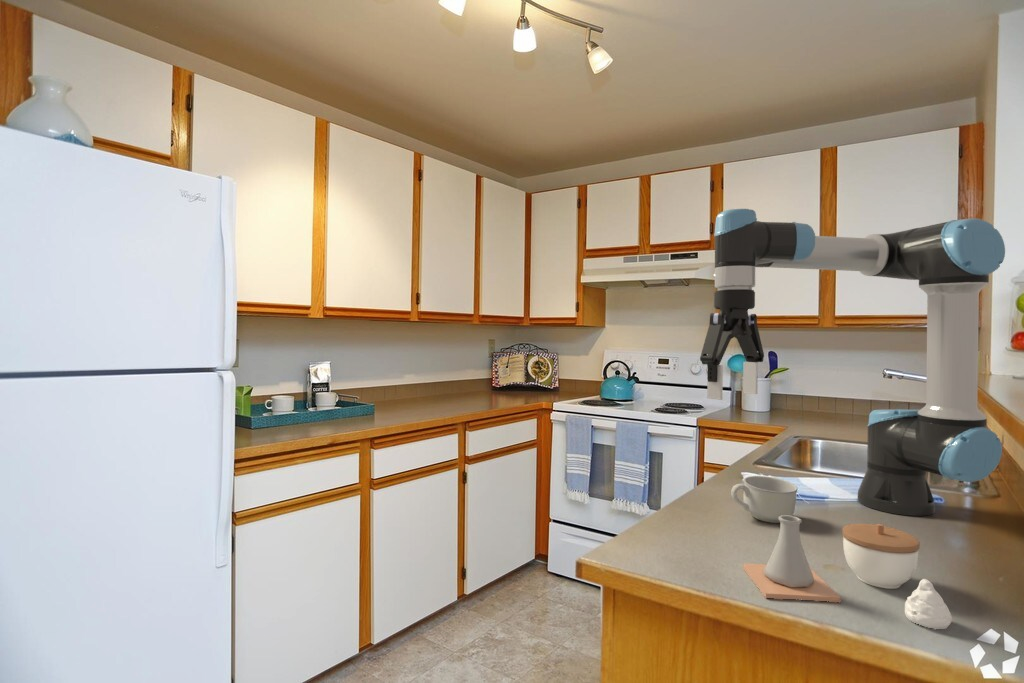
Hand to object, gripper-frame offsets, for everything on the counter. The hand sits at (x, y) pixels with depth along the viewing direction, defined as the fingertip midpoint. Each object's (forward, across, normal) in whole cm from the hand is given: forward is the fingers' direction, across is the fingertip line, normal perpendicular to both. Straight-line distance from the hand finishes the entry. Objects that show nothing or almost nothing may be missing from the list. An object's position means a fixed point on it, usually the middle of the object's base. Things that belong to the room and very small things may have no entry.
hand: (733, 396), depth 112 cm
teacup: (+28, -15, -2) cm, 32 cm away
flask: (+28, +13, +17) cm, 35 cm away
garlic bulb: (+28, +9, +35) cm, 46 cm away
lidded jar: (+28, -1, +26) cm, 38 cm away
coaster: (+28, +13, +17) cm, 35 cm away
